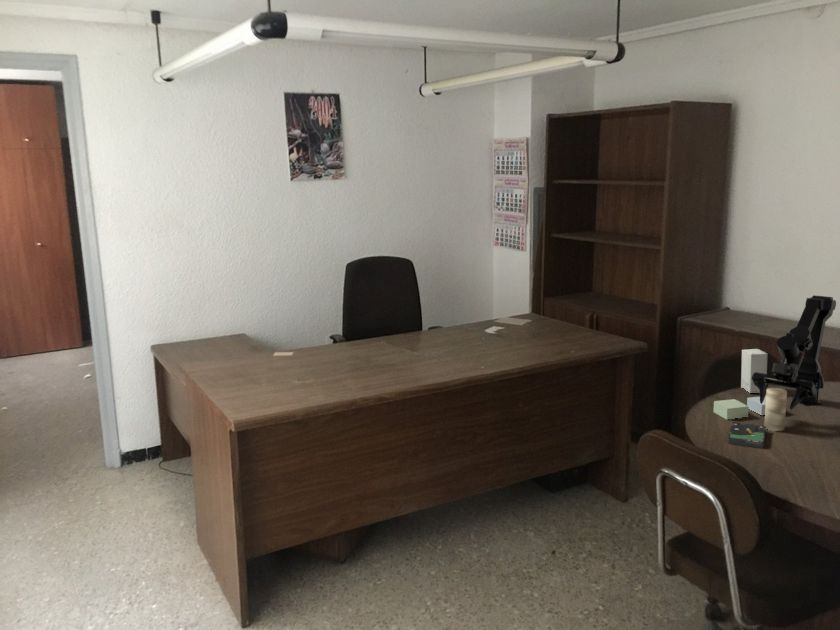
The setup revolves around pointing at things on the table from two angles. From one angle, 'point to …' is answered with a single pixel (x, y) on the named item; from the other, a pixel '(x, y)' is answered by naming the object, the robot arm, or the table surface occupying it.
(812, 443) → the table surface
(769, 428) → the birch cylinder
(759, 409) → the blue-grey block
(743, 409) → the sage block
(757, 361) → the skincare box
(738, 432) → the disk drive
